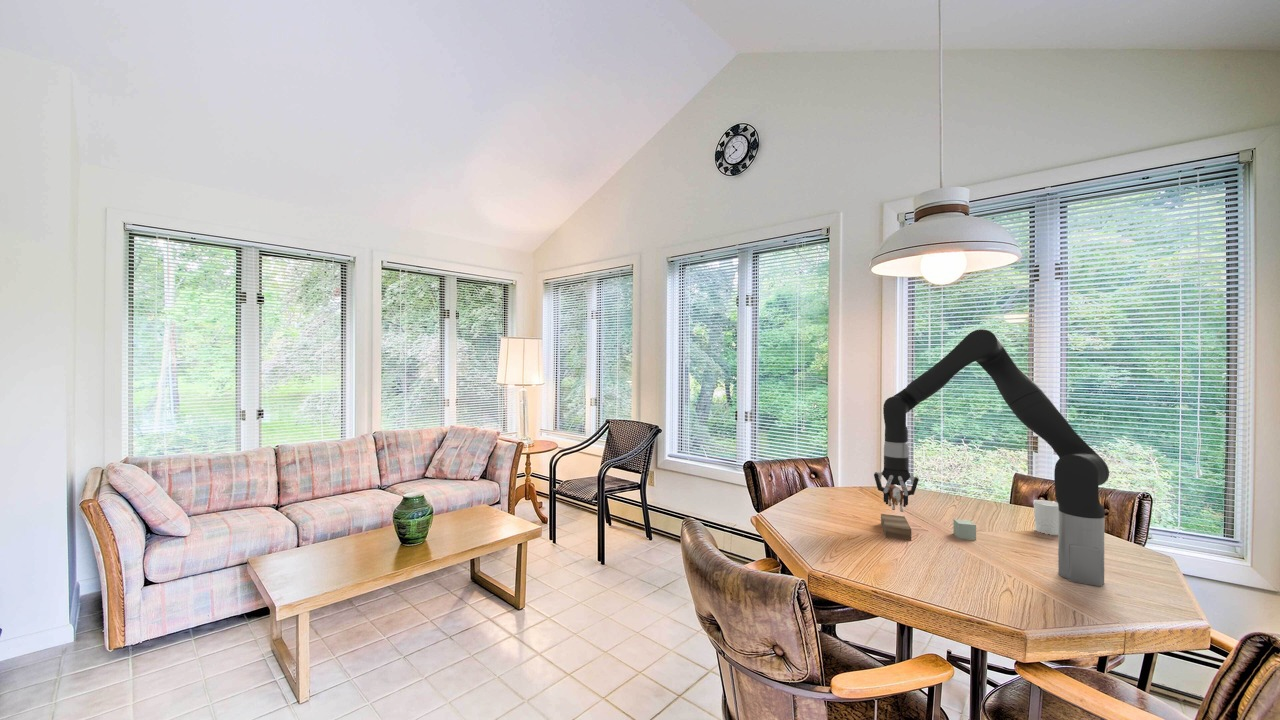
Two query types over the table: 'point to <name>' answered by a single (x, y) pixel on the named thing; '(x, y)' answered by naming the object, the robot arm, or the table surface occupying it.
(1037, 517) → the light grey block
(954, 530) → the sage cube
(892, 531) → the pedestal
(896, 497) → the bull figurine
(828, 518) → the table surface
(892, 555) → the table surface
